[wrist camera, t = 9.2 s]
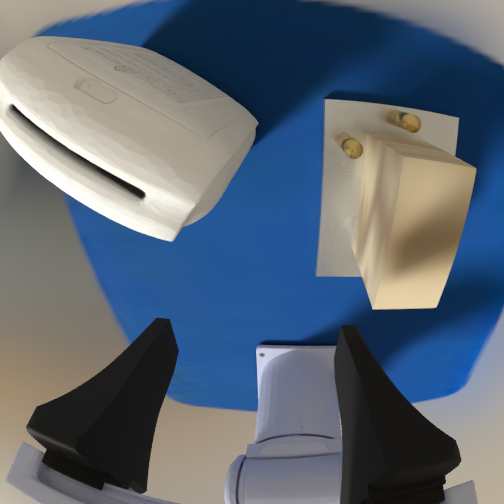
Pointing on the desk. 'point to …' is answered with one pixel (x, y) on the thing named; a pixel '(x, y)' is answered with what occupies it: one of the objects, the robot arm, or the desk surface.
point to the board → (409, 220)
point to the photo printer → (123, 130)
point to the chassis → (361, 168)
